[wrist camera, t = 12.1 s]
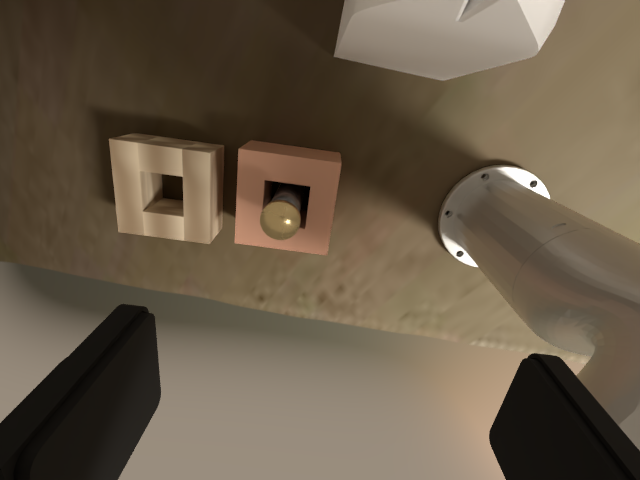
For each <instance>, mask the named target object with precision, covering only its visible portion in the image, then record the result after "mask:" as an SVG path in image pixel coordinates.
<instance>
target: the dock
mask: <svg viewBox="0 0 640 480" xmlns="http://www.w3.org/2000/svg"><path fill="white" fill-rule="evenodd" d="M341 165H342V162H341V155H340V153H339V152H332V151H325V150H318V149H311V148H304V147H296V146H289V145H282V144H275V143H268V142H261V141H254V140H251V141H249V142H248V143H246V144H245V145H243V146H242V147H240V148H239V149H238V173H237V198H236V224H235V243H238V244H246V245H253V246H261V247H268V248H276V249H283V250H291V251H298V252H306V253H313V254H321V255H327V253H328V247H329V240H330V234H331V228H332V221H333V215H334V209H335V202H336V196H337V190H338V183H339V177H340V171H341ZM272 181H275V182H282V183H290V184H297V185H304V186H311V187H310V195H309V203H308V210H301V209H300V217H301V222H300V226H299V229H298V231H297V233H296V234H295V235H294V236H293V237H291V238H289V239H286V240H275V239H273V238H271V237H269V236H268V235H266V234H265V233H264V231H263V230H262V228H261V225H260V215H261V213H262V211H263V209H264V207H265V206H266V205H267V204H268V203H270V202H271V193H272Z"/></svg>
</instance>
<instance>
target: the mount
mask: <svg viewBox="0 0 640 480" xmlns="http://www.w3.org/2000/svg"><path fill="white" fill-rule="evenodd" d="M109 145H110V155H111V164H112V174H113V183H114V193H115V202H116V212H117V221H118V231H119V232H123V233H130V234H138V235H145V236H153V237H161V238H168V239H176V240H183V241H191V242H198V243H206V244H210V243H211V242H212V240H213V239H214V238H215V236H216V235H217V234H218V233H219V231H220V230H221V229H222V224H223V181H224V145H217V144H210V143H203V142H196V141H189V140H182V139H175V138H168V137H160V136H153V135H146V134H139V133H132V134H128V135H124V136H119V137H115V138H110V139H109ZM162 174H166V175H173V176H181V177H183V201H182V200H174V199H167V198H163V187H162Z"/></svg>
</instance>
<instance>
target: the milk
mask: <svg viewBox="0 0 640 480" xmlns="http://www.w3.org/2000/svg"><path fill="white" fill-rule="evenodd" d="M564 2H565V0H345V1H344V6H343V11H342V17H341V22H340V27H339V32H338V38H337V43H336V48H335V53H334V57H337V58H341V59H346V60H350V61H355V62H359V63H364V64H369V65H373V66H378V67H382V68H387V69H391V70H396V71H400V72H405V73H409V74H414V75H418V76H423V77H427V78H432V79H436V80H441V81H444V80H448V79H452V78H456V77H460V76H463V75H467V74H471V73H475V72H479V71H482V70H486V69H490V68H494V67H498V66H501V65H505V64H509V63H513V62H516V61H520V60H524V59H528V58H531V57H533V56H536V54H537V53H538V51H539V50H540V48H541V47H542V45H543V44H544V42H545V40H546V39H547V37H548V36H549V34H550V33H551V31H552V29H553V28H554V26H555V24H556V21H557V19H558V16H559V14H560V12H561V9H562V7H563V4H564Z"/></svg>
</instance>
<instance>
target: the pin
mask: <svg viewBox="0 0 640 480" xmlns="http://www.w3.org/2000/svg"><path fill="white" fill-rule="evenodd" d="M304 193H305V187H304V185H297V184H290V183H282V182H281V184H280V186H279V188H278V190H277V192H276V194H275V195H274V197H273V199H272V201H271V202H270V203H268V204H267V205H266V206H265V207H264V209H263V211H262V213H261V215H260V225H261V228H262V230H263V231H264V233H265V234H266V235H268V236H269V237H271V238H273V239H275V240H286V239H289V238H291V237H293V236H294V235H295V234H296V233H297V231H298V229H299V226H300V222H301V217H300V209H301V205H302V201H303V197H304Z"/></svg>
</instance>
